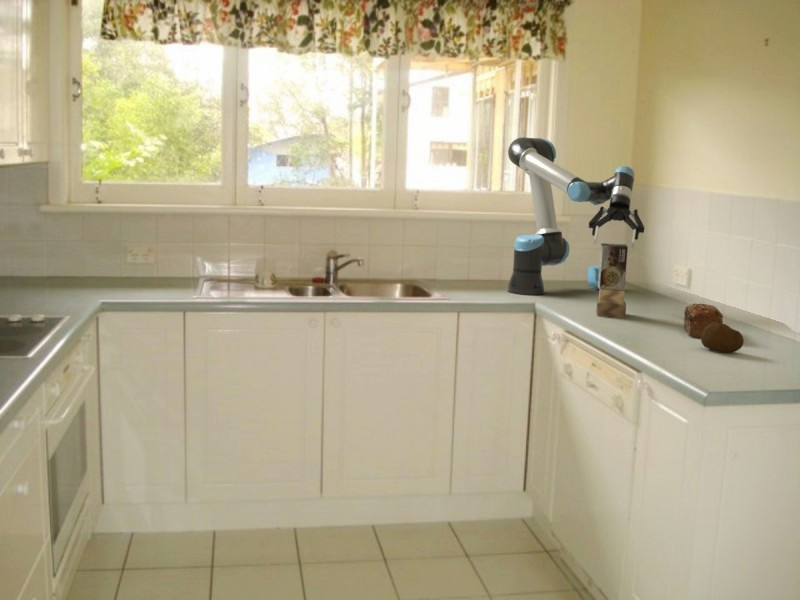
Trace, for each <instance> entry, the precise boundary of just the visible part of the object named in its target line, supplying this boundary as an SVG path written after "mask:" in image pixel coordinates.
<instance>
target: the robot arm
mask: <svg viewBox="0 0 800 600" xmlns="http://www.w3.org/2000/svg"><path fill="white" fill-rule="evenodd" d="M507 154H508V155H507V156H508V159H509V160H510V162H511V163H512V164H513V165H515V166H516V167H518V168H520V169H521V170H523V171H524V172H525V174H526V175H528V177H529V183H530V191H531V197H532V198H531V199H532V205H533V211H534V219H535V226H536V232H535V233H534V234H524V235H519V236H517V237H516V239H515V242H514V246H513V247H514V251H513V266H512V267H513V269H512V273H511V275H510V276H511V277H510V279H509V281H508V283H507V292H509V293H513V294H518V295H528V296H529V295H531V296H534V295H535V296H537V295H538V294H539V295H543V293H544V294H545V285H544V280H543V276H542V269H543V266H545V267H547V266H557V265H561V264H563V263H564V262H566V259H567V258H568V257H569V254H570V244H569V242H568V241H567V239H566V238H564V237H563V233H562V231H561V229H559V228H558V223H557V222H558V221H557V218H556V217H557V216H556V209H555V201H554V196H553V195H554V194H553V187H552V185H553V186H555V187H556V188H557V189H559V190H561V191H563V192H564V193H566V194H567V196H568V197H569V199H570V200H571V201H573V202H577V203H584V202H589V203H591V204H593V205H594V206H599V205H602V204H604V203H606V202H608V201H610V202H609V207H608V208H605V207H604V206H601V207H600V208H599V210H598V212H597V213H596V214H595V215H594V216H593V217H592V218H591V219H590V220H589V221H588V228H589V229H592V231H591V234H592V237H593V236H594V237H593V245H596V244H597V241H598V240H597V239H598V235H599V229H600V228H601V227H603V226H604V225H605V224H607V223H608V222H611V221H619V222H622V221H623V222H624V223H625V224H627V226H629V228H630V229H632V239H631V248H633V249H634V248H635V242H636V241H635V240H638V239H639V235H640V234H643V233H644V232H645V225H644V224H643V222H642V220H641V218H640V216H639V213H638V209H637V208H636V209H634V210H630V207H631V200H632V195H633V189H634V188H633V187H634V182H635V172H634V169H632V168H631V167H629V166H627V165H626V166H625V165H622V166H621V165H620V166H619V167H617V168H616V170H615V172H614V173H613V176H611V177H609V178H607V179H605V180H603V181H601V182H595V181H591V182H590V181H586V180H584V179H582V178H581V177H579V176H577V175H576V174H573V173H572V172H570V171H568V170H567V169H565V168H564V167H561V166H560V165H558V164H557V163H555V159H556V157H557V151H556V147H555V145H554V144H553V142H552V141H550V140H548V139H546V138H541V137H536V138H535V137H525V136H524V137H522V136H521V137H518V138H516V139H514V140H513V141H512V142H511V143H510V144H509V146H508V150H507ZM606 213H607V214H606ZM630 215H631V217H632V218H633V220H632V219H631V217H630ZM634 221H635V222H634ZM539 295H538V296H539Z"/></svg>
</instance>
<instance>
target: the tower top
mask: <svg viewBox="0 0 800 600" xmlns="http://www.w3.org/2000/svg"><path fill="white" fill-rule="evenodd" d="M625 293H626V292H625V289H624V290H610V289H599V294H598V299H599V303H604V304H617V305H623V303H624V301H625Z"/></svg>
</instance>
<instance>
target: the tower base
mask: <svg viewBox="0 0 800 600" xmlns="http://www.w3.org/2000/svg"><path fill="white" fill-rule="evenodd" d="M626 312H627V304H626V301H625V300H624V303H623V305H617V304H604V303H599V298H598V299H597V300H596V309H595V314H596V313H597V315H598V316H597V315H596V316H597V317H601V316H608V317H607V318H613V317H619V318H618V319H626V315H627V314H626Z"/></svg>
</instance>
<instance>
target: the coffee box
mask: <svg viewBox="0 0 800 600" xmlns="http://www.w3.org/2000/svg"><path fill="white" fill-rule="evenodd" d="M628 248H629V247H628V245H627V244H626V243H625V244H623V243H600V255H599V265H598V266H599V278H598V290H600V289H610V290H624V291H625V287H626V276H627V275H626V273H627V264H628V263H627V261H628V259H627V258H628V250H629V249H628Z"/></svg>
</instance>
